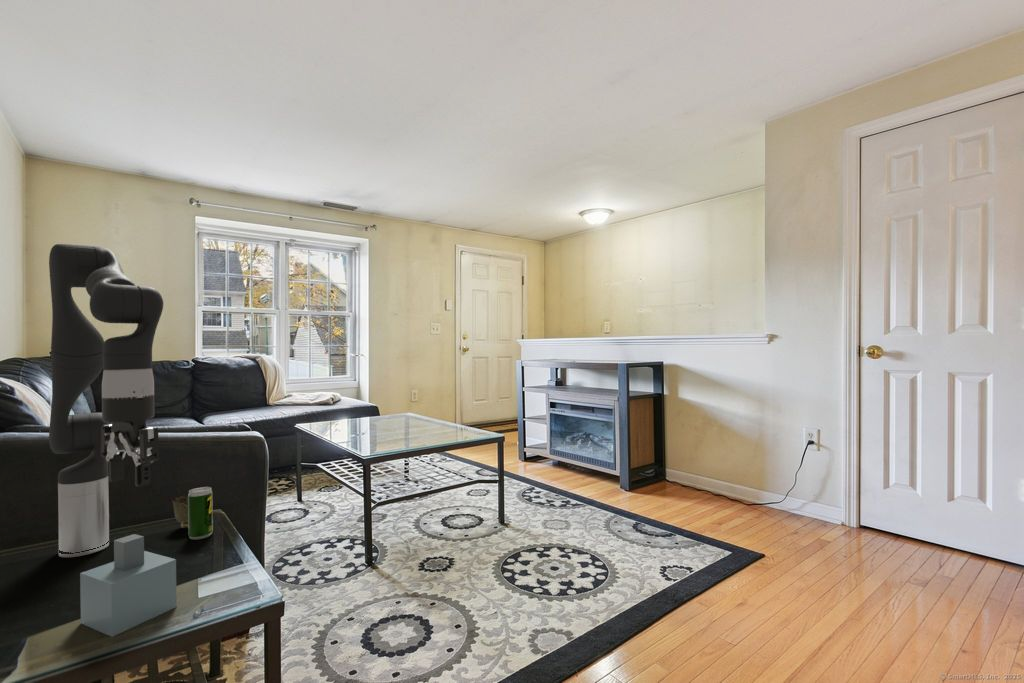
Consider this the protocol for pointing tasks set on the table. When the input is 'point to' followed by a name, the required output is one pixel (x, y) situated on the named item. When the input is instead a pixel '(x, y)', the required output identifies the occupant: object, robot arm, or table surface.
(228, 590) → the table surface
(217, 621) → the table surface
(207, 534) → the beer can
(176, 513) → the cup
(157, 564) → the blue-grey box with knob
